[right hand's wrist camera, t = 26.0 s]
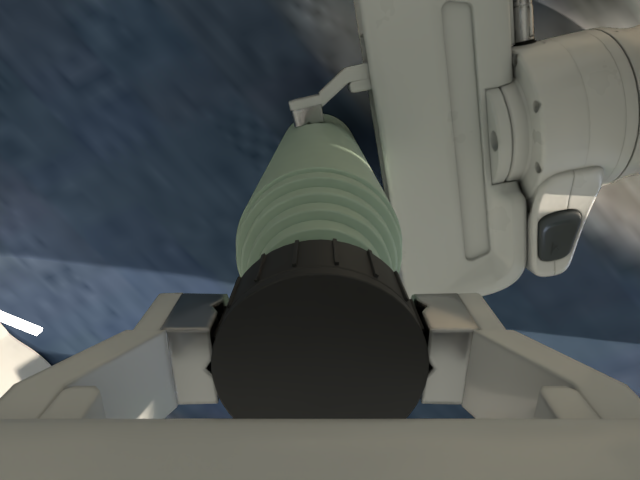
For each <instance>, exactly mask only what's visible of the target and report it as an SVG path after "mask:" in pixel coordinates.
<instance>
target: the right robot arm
mask: <svg viewBox="0 0 640 480" xmlns="http://www.w3.org/2000/svg"><path fill="white" fill-rule="evenodd" d="M411 299H412V300H413V302H414V305H415V307H416V309H417V312H418V314H419V317H420V319H421V322H422V324H423V326H424V329H425V332H423V334H424V336H425V340H426V344H427V347H428V354H429V372H428V377H427V382H426V386H425V388H424V391H423V393H422V396H421V398H420V399H421V402H422V403H425V404H462V407H463V408H465V409H466V410H467V411H468V412H469V413H470V414H471V415H472V416H473V417H474V418H476V419H164V418H165V417H166V416H167V415H169V414H170V413H171V412H172V411H173V410H174V409H175V408H176V407H177V404H213V403H218V401H219V396H218V394H217V392H216V389H215V385H214V382H213V378H212V372H211V355H212V348H213V344H214V341H215V338H214V336H215V333H216V331H217V328H218V326H219V321H220V319H221V316H222V314H224V311H225V309H226V306H227V303H228V301H229V298H228V295H227V294H197V293H184V294H183V293H162V294H159V295H158V296H157V298H156V299H155V301H154V302H153V303H152V305H151V306H150V307H149V309H148V310H147V312H146V313H145V314H144V316H143V317H142V318H141V320H140V321H139V323H138V324H137V325H136V327H135V328H134V329H133V330H125V331H123V332H121V333H119V334H117V335H115V336H113V337H111V338H109V339H107V340H104V341H102V342H100V343H98V344H96V345H94V346H92V347H90V348H88V349H86V350H84V351H82V352H80V353H78V354H75V355H73V356H71V357H69V358H67V359H65V360H63V361H61V362H59V363H57V364H55V365H53V366H51V365H50V364H49V363H48V362H47V361H46V360H45V359H44V358H43V357H42V356H41V355H39V354H38V353H37V352H35V351H34V350H33V349H31V348H30V347H28V346H26V345H25V344H23V343H22V342H20V341H19V340H17V339H16V338H14V337H13V336H12V335H11V334H9V333H8V331H7V330H6V329H5V328H4V326H3V325H2V324H1V323H0V480H640V398H639V397H638V396H637V395H636V394H635V393H634V392H633V391H632V390H631V389H630V388H629V387H628V386H627V385H626V384H624V383H622V382H620V381H618V380H615V379H613V378H611V377H609V376H607V375H605V374H603V373H601V372H599V371H597V370H595V369H593V368H591V367H589V366H587V365H584V364H582V363H580V362H578V361H576V360H574V359H572V358H570V357H568V356H566V355H564V354H562V353H560V352H558V351H556V350H554V349H551V348H549V347H547V346H545V345H543V344H541V343H539V342H537V341H535V340H533V339H531V338H529V337H527V336H525V335H523V334H520V333H518V332H516V331H514V330H506V329H505V327H504V326H503V325H502V323H501V322H500V321H499V319H498V318H497V316H496V315H495V314H494V312H493V311H492V310H491V308H490V307H489V306H488V304H487V303H486V301H485V300H484V299H483V297H482V296H481V295H480V294H478V293H459V294H457V293H441V294H413V295H412V296H411ZM0 321H1V322H3V323H6V324H8V325H11V326H13V327H16V328H18V329H21V330H23V331H26V332H28V333H31V334H33V335H36V336H37V335H38V334H39V333H40V332H41V331H42V329H43V328H42V327H39V326H37V325H34V324H32V323H29V322H27V321H25V320H22V319H20V318H17V317H15V316H12V315H10V314H7V313H5V312H2V311H0Z"/></svg>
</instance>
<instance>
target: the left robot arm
mask: <svg viewBox="0 0 640 480" xmlns="http://www.w3.org/2000/svg"><path fill="white" fill-rule="evenodd" d="M353 2H354V9H355V15H356V21H357V27H358V33H359V39H360V46H361V52H362V58H363V64H358V65H354V66H350V67H346V68H343V69H342V70H341V71H340V72H339V73H338V74H337V75H336V76H335V77H334V78H333V79H332V80H331V81H330V82H328V83H327V84H326V85H325V86H324V87H323V88H322V89H321V90H320V91H319V94H315V95H311V96H306V97H302V98H297V99H294V100H290V101H289V106H290V110H291V115H292V119H293V123H294V127H301V126H304V125H306V124H307V123H308V122H310V123H320V122H324V115H323V110H322V107H323V106H324V105H325V104H326V103H327V102H328V101H329V100H330V99H331V98H333V97H334V96H335V95H336V94H337V93H338V92H339V91H340V90H341V89H342V88H343V87H344V86H345V85H347V84H348V90H349V91H350V92H352V93H356V92H361V91H366V90H368V95H369V101H370V107H371V113H372V119H373V126H374V132H375V138H376V144H377V150H378V156H379V162H380V169H381V175H382V181H383V187H384V193H385V195H386V196H387V198H388V200H389V202H390V204H391V205H392V207H393V209H394V211H395V213H396V216H397V218H398V221H399V224H400V228H401V233H402V263H401V269H400V272H399V276H400V279H401V281H402V284H403V285H404V288H405V290H406V292H407V294H408V297H409V299H411V296H412V295H413V294H441V293H457V294H459V293H478V294H480V295H481V296H485V295H489V294H492V293H495V292H498V291H501V290H503V289H505V288H507V287H509V286H510V285H512V284H513V283H514V282H516V281H517V280H518V279H519V277H520V276H521V275H522V273H523V271H524V269H525V268H527V269H528V270H529V271H531V272H532V273H534V274H535V275H537V276H540V277H548V276H554V275H558V274H561V273H563V272H564V271H565V270H566V269H567V268H568V266H569V265H570V263H571V260H572V258H573V255H574V252H575V249H576V246H577V243H578V240H579V237H580V235H581V232H582V229H583V227H584V224H585V221H586V219H587V216H588V214H589V212H590V210H591V207H592V205H593V203H594V201H595V199H596V197H597V195H598V193H599V191H600V189H601V186H606V185H608V184H611V183H613V182H616V181H618V180H620V179H623V178H625V177H628V176H632V175H637V174H640V25H638V26H635V27H631V28H625V29H617V28H592V29H588V30H583V31H579V32H574V33H570V34H565V35H561V36H556V37H552V38H548V39H543V40H539V41H536V40H535V38H534V11H533V4H532V0H353ZM513 44H515V45H513ZM511 45H513V47H511Z"/></svg>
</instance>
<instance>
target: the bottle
mask: <svg viewBox="0 0 640 480" xmlns="http://www.w3.org/2000/svg"><path fill="white" fill-rule="evenodd" d="M323 115H324V122H320V123H310V122H308V123H307V124H306V125H304V126H301V127H294V123H293V124H292V125H291V126H290V127H289V128H288V130H287V131H286V133H285V135H284V137H283V138H282V140H281V142H280V144H279V146H278V148H277V150H276V152H275V153H274V155H273V157H272V159H271V161H270V163H269V165H268V167H267V168H266V170H265V172H264V174H263V176H262V178H261V180H260V182H259V183H258V185H257V187H256V189H255V191H254V193H253V195H252V197H251V198H250V200H249V202H248V204H247V206H246V208H245V210H244V212H243V214H242V216H241V219H240V222H239V225H238V229H237V235H236V260H237V267H238V271H239V274H240V277H242V276H243V274H244V273H245V272H246V271H247V270H248V269H249V268H250V267H251V266H252V265H253V264H254V263H255V262H256V261H258V260H259V259H260V258H261V255H262V254H263V253H265V254H268V253H270V252H271V251H273V250H275V249H278V248H280V247H282V246H285V245H288V244H291V243H295V240H299V242H300V241H306V240H321V239H323V240H333V238H335V239H337V241H340V242H345V243H349V244H352V245H355V246H358V247H360V248H362V249H364V250H366V251H367V250H368V249H369V250H371V251H372V254H374V255H375V256H377V257H378V258H380V259H381V260H382V261H383V262H385V263H386V264H387V265H388V266H389V267H390V268H391V269H392V270H393V271H394V272H395V271H397V272H398V274H399V272H400V269H401V263H402V233H401V228H400V224H399V221H398V218H397V216H396V213H395V211H394V209H393V207H392V205H391V204H390V202H389V200H388V198H387V196H386V195H385V193H384V191H383V189H382V187H381V186H380V184H379V182H378V180H377V178H376V177H375V175H374V173H373V171H372V169H371V168H370V166H369V164H368V162H367V160H366V159H365V157H364V155H363V153H362V151H361V150H360V148H359V146H358V144H357V142H356V141H355V139H354V137H353V135H352V133H351V132H350V130H349V129H348V127H347V126H346V125H345V124H344V123H343V122H342V121H340V120H339V119H337V118H336V117H334V116H331V115H328V114H323Z"/></svg>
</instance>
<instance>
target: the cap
mask: <svg viewBox="0 0 640 480" xmlns="http://www.w3.org/2000/svg"><path fill="white" fill-rule="evenodd" d="M423 332H425V329H424V326H423V324H422V322H421V319H420V317H419V314H418V312H417V309H416V307H415V305H414V302H413V300H412V299H409V297H408V294H407V292H406V290H405V288H404V285H403V284H402V281H401V279H400V276H399V274H398V272H397V271H395V272H394V271H393V270H392V269H391V268H390V267H389V266H388V265H387V264H386V263H385V262H383V261H382V260H381V259H380V258H378V257H377V256H375V255H374V254H372V251H371V250H369V249H368V250H367V251H366V250H364V249H362V248H360V247H358V246H355V245H352V244H349V243H345V242H340V241H337V239H335V238H333V240H323V239H321V240H306V241H300V242H299V240H295V243H291V244H288V245H285V246H282V247H280V248H278V249H275V250H273V251H271V252H270V253H268V254H265V253H263V254H262V255H261V258H260V259H259V260H258V261H256V262H255V263H254V264H253V265H252V266H251V267H250V268H249V269H248V270H247V271H246V272H245V273H244V274H243V276H242V277H238V278H237V280H236V283H235V286H234V288H233V291H232V293H231V296H230V298H229V301H228V303H227V306H226V309H225V311H224V314H222V316H221V319H220V321H219V326H218V328H217V331H216V333H215V336H214V338H215V341H214V344H213V348H212V355H211V372H212V378H213V382H214V385H215V389H216V392H217V394H218V396H219V398H220V400H221V402H222V404H223V405H224V407H225V408H226V410H227V411H228V413H229V414H230V415H231V416H232V417H233V418H234V419H406V418H407V417H408V416H409V414H410V413H411V412H412V411H413V409H414V408H415V407H416V405H417V403H418V401H419V400H420V398H421V396H422V393H423V391H424V388H425V386H426V382H427V377H428V372H429V354H428V347H427V344H426V340H425V336H424V334H423Z"/></svg>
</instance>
